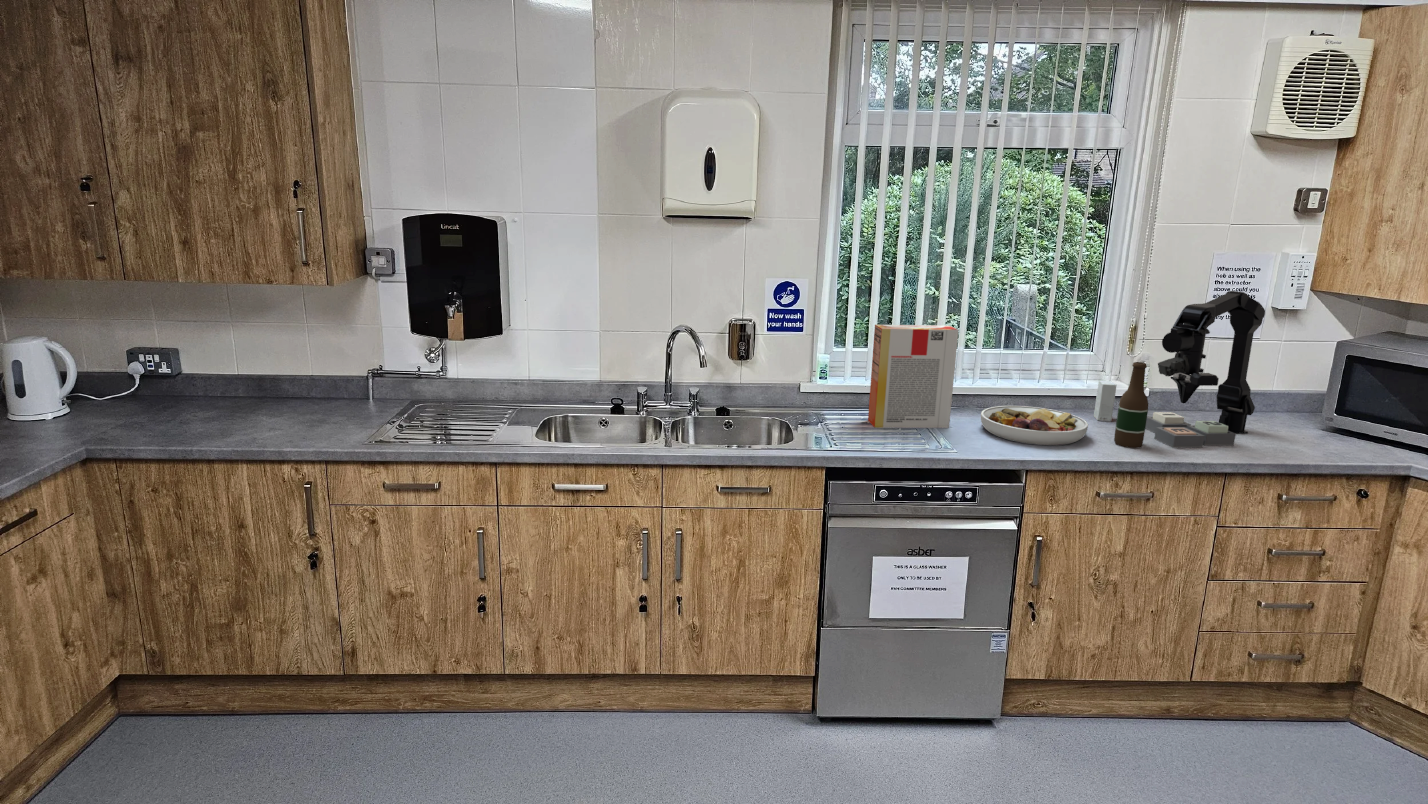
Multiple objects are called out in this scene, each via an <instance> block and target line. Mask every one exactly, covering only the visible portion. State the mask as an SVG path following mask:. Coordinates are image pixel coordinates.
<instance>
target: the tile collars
mask: <svg viewBox="0 0 1428 804" xmlns="http://www.w3.org/2000/svg"><path fill="white" fill-rule="evenodd" d="M1164 428H1185V429H1187V430H1190V431H1192V432H1194V433H1196V435H1175V434H1173V433H1171V432H1169V431H1166V430H1164ZM1145 430H1146V431H1149V432H1151V433H1154V440H1156V441H1158V442H1159V443H1162V444H1164V445H1165V446H1168V447H1170V448H1172V449H1199V448H1200V449H1201V448H1202V449H1203V447H1205V446H1207V447H1209V446H1210V447H1213V446H1214V447H1215V446H1216V447H1217V446H1218V447H1222V446H1223V447H1225V446H1227V447H1232V446H1235V442H1236V441H1235V440H1236V435H1237V433H1233V432H1230V431H1228V432H1227V433H1207V432H1204V431H1202V430H1200V429H1197V428H1195V424H1194V425H1192V424H1190V423H1188V422H1186V421H1184V422H1183V424H1164V423H1161V422H1159V421H1157V420H1155V419H1153V416H1147V420H1146V427H1145Z"/></svg>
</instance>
